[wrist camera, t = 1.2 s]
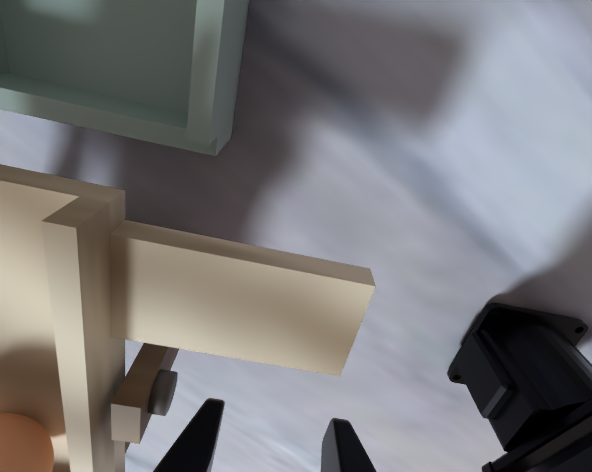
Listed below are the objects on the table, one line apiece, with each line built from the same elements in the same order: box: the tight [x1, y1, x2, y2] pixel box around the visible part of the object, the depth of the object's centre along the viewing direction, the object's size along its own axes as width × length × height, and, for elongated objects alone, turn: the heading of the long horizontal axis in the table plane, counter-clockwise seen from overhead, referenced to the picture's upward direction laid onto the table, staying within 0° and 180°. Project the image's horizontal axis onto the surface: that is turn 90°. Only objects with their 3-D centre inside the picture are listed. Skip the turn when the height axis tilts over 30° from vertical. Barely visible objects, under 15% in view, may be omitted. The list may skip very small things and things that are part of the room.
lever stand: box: [111, 343, 179, 444], centre depth 16 cm, size 4×11×10 cm, turn 78°
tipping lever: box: [0, 164, 376, 472], centre depth 14 cm, size 16×15×5 cm
